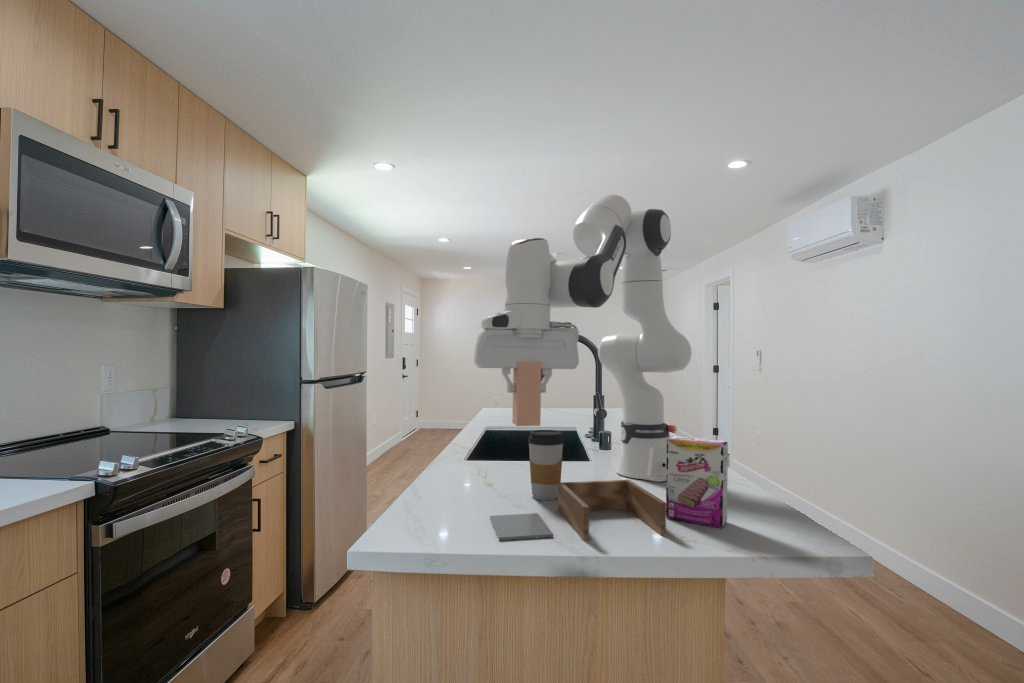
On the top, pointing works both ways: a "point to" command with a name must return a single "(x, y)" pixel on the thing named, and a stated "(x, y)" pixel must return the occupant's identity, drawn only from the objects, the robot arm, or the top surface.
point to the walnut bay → (608, 503)
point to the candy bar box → (697, 480)
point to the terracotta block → (527, 394)
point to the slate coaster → (520, 526)
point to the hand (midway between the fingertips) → (526, 392)
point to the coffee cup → (545, 463)
